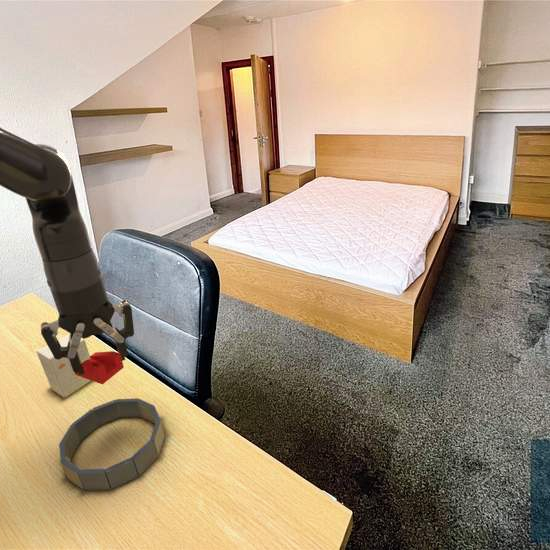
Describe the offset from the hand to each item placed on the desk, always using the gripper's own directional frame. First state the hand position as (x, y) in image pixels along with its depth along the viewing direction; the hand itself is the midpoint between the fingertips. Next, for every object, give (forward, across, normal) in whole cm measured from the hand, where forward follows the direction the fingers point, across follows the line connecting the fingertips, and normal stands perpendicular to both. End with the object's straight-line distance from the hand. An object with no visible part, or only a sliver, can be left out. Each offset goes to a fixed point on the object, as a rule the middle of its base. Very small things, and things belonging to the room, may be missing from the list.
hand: (102, 364), depth 71 cm
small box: (+16, +7, -20) cm, 26 cm away
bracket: (+1, +1, 0) cm, 1 cm away
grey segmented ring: (+15, +2, +4) cm, 16 cm away
